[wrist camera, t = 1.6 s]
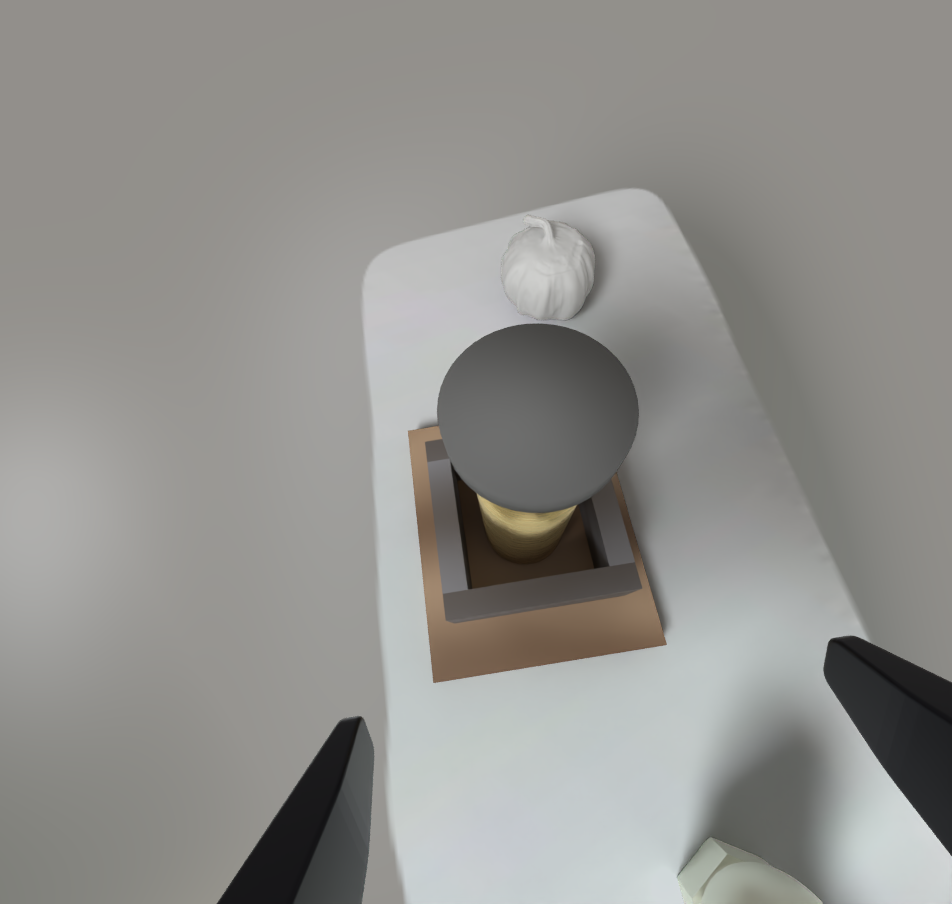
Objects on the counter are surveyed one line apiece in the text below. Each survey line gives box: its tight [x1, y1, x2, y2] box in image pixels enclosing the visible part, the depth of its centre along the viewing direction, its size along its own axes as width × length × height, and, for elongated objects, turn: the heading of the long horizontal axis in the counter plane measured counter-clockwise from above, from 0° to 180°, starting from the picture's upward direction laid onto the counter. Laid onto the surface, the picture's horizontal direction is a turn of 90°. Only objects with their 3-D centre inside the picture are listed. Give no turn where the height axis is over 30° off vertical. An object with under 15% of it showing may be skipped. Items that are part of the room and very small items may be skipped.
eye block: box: [408, 426, 667, 683], centre depth 21 cm, size 12×10×4 cm
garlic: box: [501, 215, 595, 320], centre depth 26 cm, size 6×5×5 cm
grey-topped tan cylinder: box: [437, 324, 639, 565], centre depth 16 cm, size 5×5×12 cm
